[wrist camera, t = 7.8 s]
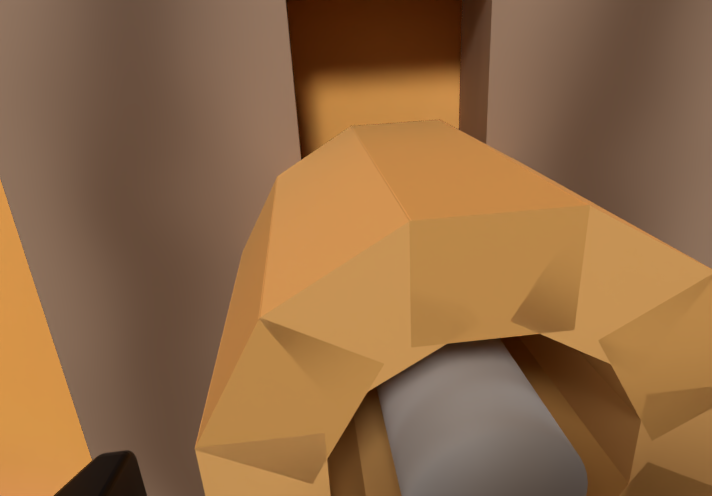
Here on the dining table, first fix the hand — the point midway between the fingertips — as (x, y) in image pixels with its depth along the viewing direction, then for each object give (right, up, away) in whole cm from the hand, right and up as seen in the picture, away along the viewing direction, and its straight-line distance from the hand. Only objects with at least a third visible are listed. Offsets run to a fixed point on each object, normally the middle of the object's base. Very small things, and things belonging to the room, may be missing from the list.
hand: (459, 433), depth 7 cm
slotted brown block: (-1, +3, +7) cm, 7 cm away
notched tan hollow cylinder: (0, +2, +5) cm, 5 cm away
